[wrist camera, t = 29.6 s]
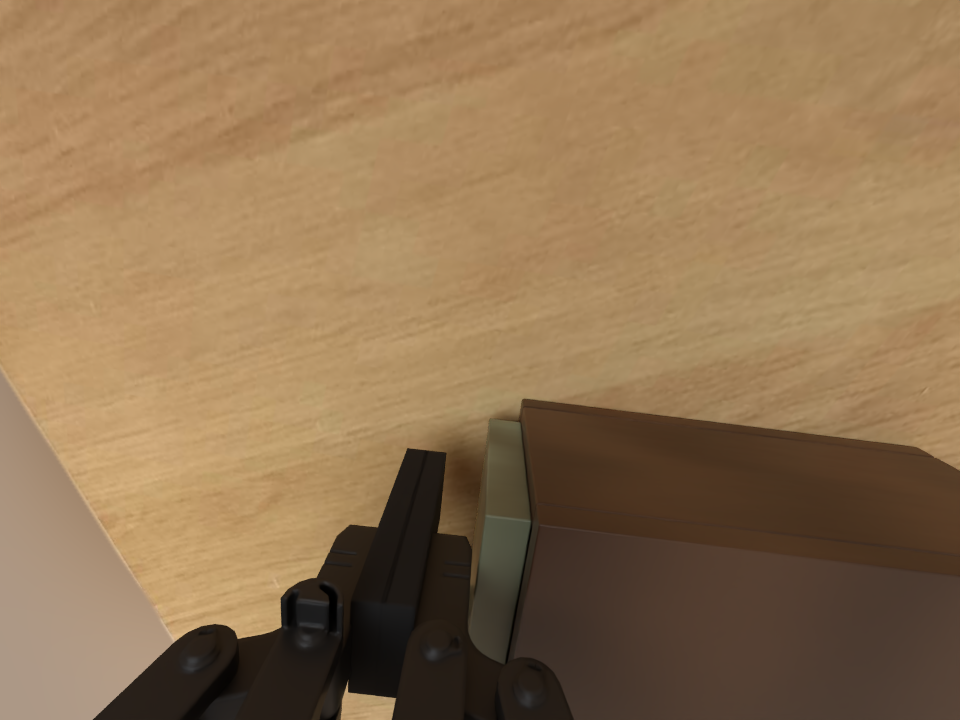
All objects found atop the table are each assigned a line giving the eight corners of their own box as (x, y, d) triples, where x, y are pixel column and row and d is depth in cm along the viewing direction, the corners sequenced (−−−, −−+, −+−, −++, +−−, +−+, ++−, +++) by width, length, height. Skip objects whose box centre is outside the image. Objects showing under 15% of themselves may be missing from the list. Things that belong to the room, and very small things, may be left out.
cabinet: (481, 655, 22) (473, 875, 14) (522, 398, 18) (539, 524, 10) (801, 695, 22) (953, 935, 14) (917, 446, 17) (1213, 607, 10)
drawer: (430, 658, 21) (406, 819, 15) (457, 413, 17) (438, 509, 11) (768, 699, 21) (867, 876, 15) (871, 465, 17) (1054, 585, 11)
